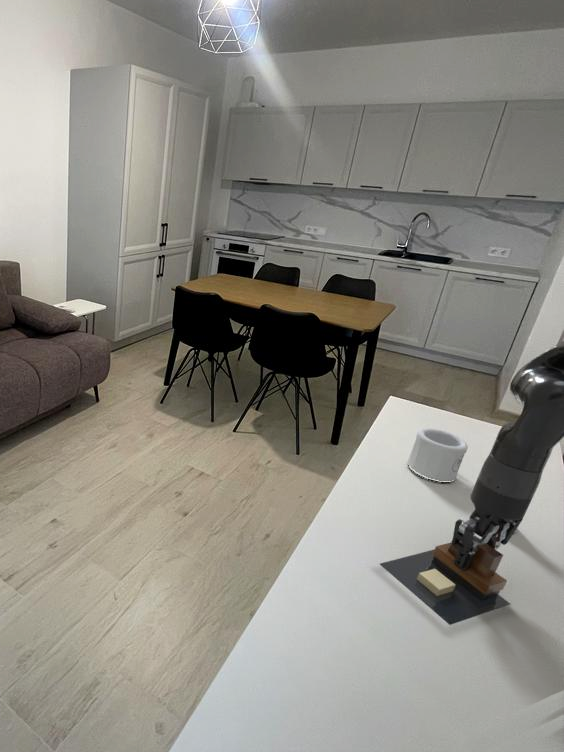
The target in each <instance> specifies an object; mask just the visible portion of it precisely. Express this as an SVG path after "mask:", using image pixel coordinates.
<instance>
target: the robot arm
mask: <svg viewBox="0 0 564 752" xmlns="http://www.w3.org/2000/svg"><path fill="white" fill-rule="evenodd" d="M509 393H510V395H511V397H512V398H513V399H514V401H516V403H518V405H520V406H521V407H522V411H521V413H520V415H519V416H518V418H517V420H516V421H509V422H506V423H505V424H503V425H502V426H501V428H500V429H499V431H498V433H497V435H496V438H495V440H494V442H493V444H492V447H491V449H490V452H489V453H488V455H487V457H486V459H485V460H484V462H483V465H482V466H481V468H480V471H479V474H478V476H477V478H476V481H475V482H474V483H475V484H474V486H473V488H472V490H471V493H470V495H469V497H470V501H471V502H472V505H473V506H474V510H473V511H472V512H471V514H470V515H469V519H467V520H466V521H464V520H462V519H460V518H459V519H457V520H456V521H455V522H454V523H455V524H454V529H453V535H452V539H453V540H452V539H451V542H452V545H453V546H454V547H455V548H457V549H458V550H459V551H458V553H457V555H456V558H455V560H454V565H455V566H457V567H458V568H459V569H461V570H462V571H468V569H469V567H470V565H471V563H472V560H473V558H474V556H475V554H476V552H477V551H478V549H479V548H480V546H485V545H486V544H488V545H489V546H491V547H492V548H494V549H495V550H497V551H498V549H500V547H501V545H503V546H506V545H507V544H508V543H509V541H510V539H511V538H512V536H513V535H514V534H515V533H516V532H515V530H516V529H518V528H519V526H520V524H521V523H522V521H523V520H524V517H525V515H526V513H527V512H528V509H529V506H530V504H531V502H532V500H533V498H534V497H535V494H536V492H537V490H538V488H539V485H540V482H541V479H542V475H543V472H544V469H545V468H546V466H547V463H548V461H549V459H550V457H551V455H552V452H553V450H554V448H555V446H556V445H558V444H559V442H560V441H561V440H563V439H564V340H562V341H561V342H559V343H557V344H554V346H552V347H550V348H548V349H547V350H545V351H544V352H542V353H541V354H539V355H537V356H536V357H534V358H532V359H531V360H530V361H528V362H527V363H526V364H524V365H523V366H522V367H521V368H519V370H518V371H517V372H516V373H515V375H514V376H513V378H512V380H511V382H510V385H509ZM514 532H515V533H514ZM479 537H481V538H479ZM472 541H473V542H474V545H473V546H472V547H471V545H472Z"/></svg>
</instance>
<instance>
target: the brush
mask: <svg viewBox="0 0 564 752" xmlns="http://www.w3.org/2000/svg"><path fill="white" fill-rule="evenodd" d="M452 540H453V538H452V539H451V541H450V542H448V543H447V542H446V543H443V544H439V545H436V546H435V548H434V549H435V550H434V549H433V550H434V552H433V555H434V557H433V560H432V562H433V563H434V564H436V565H437V566H438V567H439V568H441V569H442V570H443V571H445V572H446V573H447V574H448V575H450V576H451V577H452V578H454V579H455V580H456V581H457V582H459V583H460V584H461V585H462V586H464V587H465V588H466V589H468V590H469V591H470V592H471V593H473V594H474V595H475V596H477V597H478V598H479V599H480V600H485V599H488V598H491V597H494V596H497V595H500V592H501V591H502V590H504V588H505V586H506V584H507V582H508V580H507V579H506V578H504V577H503V576H502V575H500V574H498V573H497V569H498V567H499V566H500V563H501V561H502V559H503V557H504V554H503V553H501V552H500V551H498V549H497V550H495V549H494V548H492V547H491V546H489V545H488V544H486V545H485V546H480V548H479V549H478V551H477V552H476V554H475V556H474V558H473V560H472V563H471V565H470V567H469V569H468V571H462V570H461V569H459V568H458V567H457V566H455V565H454V560H455V558H456V555H457V553H458V551H459V550H458V549H457V548H455V547H454V546H453V545H452ZM473 545H474V542H473V541H472V545H471V547H472V546H473Z"/></svg>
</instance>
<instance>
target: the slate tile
mask: <svg viewBox="0 0 564 752" xmlns="http://www.w3.org/2000/svg"><path fill="white" fill-rule="evenodd" d="M434 550H435V548H434V549H431V550H430V549H429V550H426V551H423V552H419V553H416V554H411V555H409V556H403V557H399V558H396V559H392V560H388V561H384V562H381V563H379V565H380V566H381V567H382V568H383V569H384V570H385V571H387V572H388V573H389V574H390V575H391V576H393V577H394V578H395V579H396V580H397V581H398V582H399V583H401V585H403V586H404V587H405V588H406V589H407V590H408V591H410V592H411V593H412V594H413V595H415V597H417V598H418V599H419V600H420V601H422V602H423V603H424V604H425V605H426V606H427V607H428V608H429V609H431V610H432V611H433V612H434V613H435V614H436V615H438V617H440V618H441V619H442V620H443V621H444V622H445V623H447V624H448V625H449V626H451V625H453V624H457V623H460V622H463V621H465V620H469V619H472V618H474V617H477V616H480V615H482V614H486V613H489V612H493V611H494V610H499V609H501V608H504V607H506V606H510V605H511V602H509V601H508V600H507V599H505V598H504V597H503V596H501V595H500V594H498V595H497V596H494V597H491V598H488V599H485V600H480V599H479V598H478V597H477V596H475V595H474V594H473V593H471V592H470V591H469V590H468V589H466V588H465V587H464V586H462V585H461V584H460V583H459V582H457V581H456V580H455V579H454V578H452V577H451V576H450V575H448V574H447V573H446V572H445V571H443V570H442V569H441V568H439V567H438V566H437V565H436V564H434V563H433V562H432V560H433V557H434V555H433V552H434ZM432 569H436V570H437V571H439V572H440V573H441V574H443V575H444V576H445V577H446V578H448V579H449V580H450V581H452V582H453V583H454V584H455V588H454V590H453V591H452V592H449V593H445V594H442V595H439V596H436V595H435V594H434V593H433V592H431V591H430V590H429V589H428V588H427V587H425V586H424V585H423V584H422V583H421V582H419V581H418V580H417V578H418V575H419V573H421V572H425V571H428V570H432Z"/></svg>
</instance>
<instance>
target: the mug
mask: <svg viewBox="0 0 564 752" xmlns="http://www.w3.org/2000/svg"><path fill="white" fill-rule="evenodd" d="M468 448H469V446H468V443H467V442H466V441H465V440H464V439H463V438H461V437H460V436H458V435H456V434H454V433H451V432H449V431H446V430H442V429H439V428H438V429H437V428H432V427H431V428H429V427H426V428H421V429H419V430H418V431H417V433H416V435H415V440H414V443H413V446H412V449H411V452H410V455H409V457H408V459H407V463H408V464H409V465H410V466H411V468H412V469H414V470H415V471H416V472H418V473H420V474H421V475H424V476H426V477H428V478H431V479H435V480H439V481H452V480H454V479H455V478H456V479H457V476H458V473H459V470H460V467H461V464H462V462H463V459H464V457H465V454H466V453H467V452H468ZM411 472H412V473H413V474H415V476H416V475H417V474H416V473H414V472H413V471H411ZM417 476H418V477H420V478H422V479H425V480H427V481H430V482H433V483H434V482H435V481H431V480H428V479H426V478H423V477H421V476H419V475H417ZM456 479H455V480H456ZM455 480H454V481H455ZM435 483H436V482H435ZM437 484H442V483H441V482H437Z"/></svg>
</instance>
